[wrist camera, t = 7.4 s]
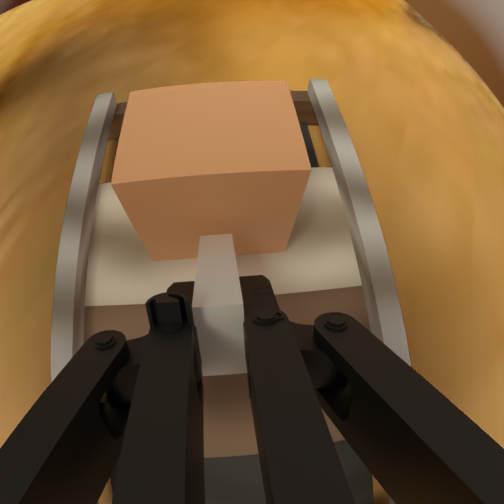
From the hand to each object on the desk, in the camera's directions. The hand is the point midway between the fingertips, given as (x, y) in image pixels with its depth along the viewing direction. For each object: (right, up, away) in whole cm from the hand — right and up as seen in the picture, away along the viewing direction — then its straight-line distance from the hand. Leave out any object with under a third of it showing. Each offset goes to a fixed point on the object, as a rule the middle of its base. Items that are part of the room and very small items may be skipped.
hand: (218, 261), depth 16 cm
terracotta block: (-1, +3, +5) cm, 6 cm away
